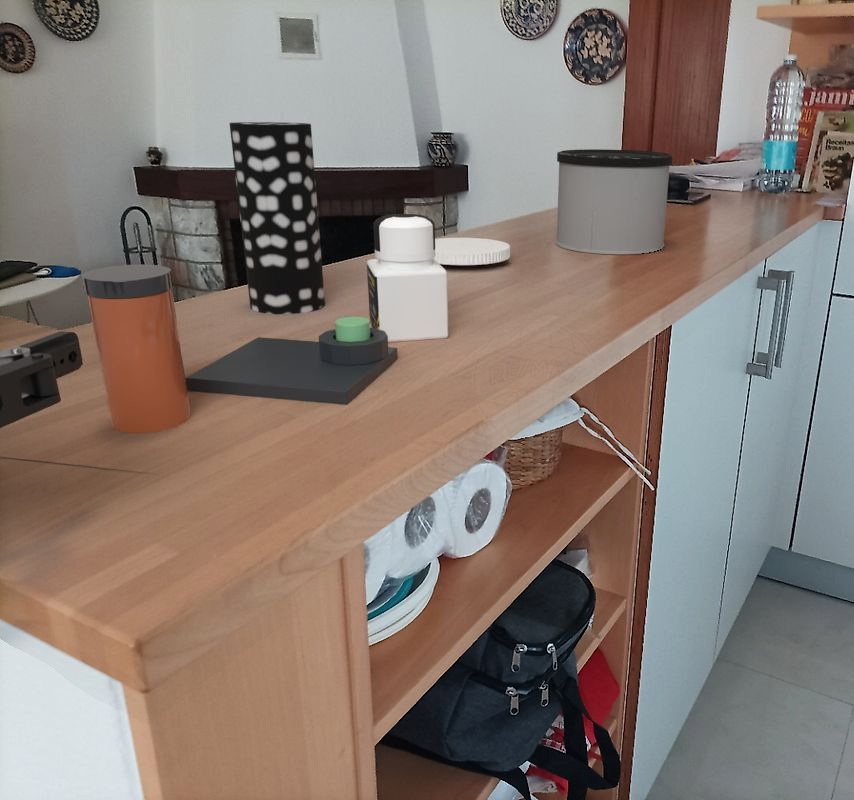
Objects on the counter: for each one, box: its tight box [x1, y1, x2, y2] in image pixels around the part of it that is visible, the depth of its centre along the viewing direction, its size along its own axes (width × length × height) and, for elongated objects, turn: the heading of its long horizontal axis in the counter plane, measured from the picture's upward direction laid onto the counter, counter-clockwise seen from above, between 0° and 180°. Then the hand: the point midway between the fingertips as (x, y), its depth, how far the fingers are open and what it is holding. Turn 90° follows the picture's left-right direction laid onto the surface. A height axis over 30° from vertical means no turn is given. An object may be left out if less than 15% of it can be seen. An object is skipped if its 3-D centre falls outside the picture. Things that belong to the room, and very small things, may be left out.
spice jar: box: [81, 264, 192, 434], centre depth 57 cm, size 6×6×11 cm
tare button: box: [334, 316, 371, 342], centre depth 70 cm, size 3×3×2 cm
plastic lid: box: [434, 237, 511, 266], centre depth 116 cm, size 14×14×2 cm
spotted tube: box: [229, 121, 326, 315], centre depth 87 cm, size 8×8×20 cm
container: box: [555, 148, 674, 256], centre depth 131 cm, size 19×19×15 cm
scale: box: [185, 327, 399, 406], centre depth 68 cm, size 14×12×3 cm
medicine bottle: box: [366, 213, 449, 343], centre depth 80 cm, size 7×7×12 cm
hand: (9, 342), depth 45 cm, fingers open, 8 cm apart
